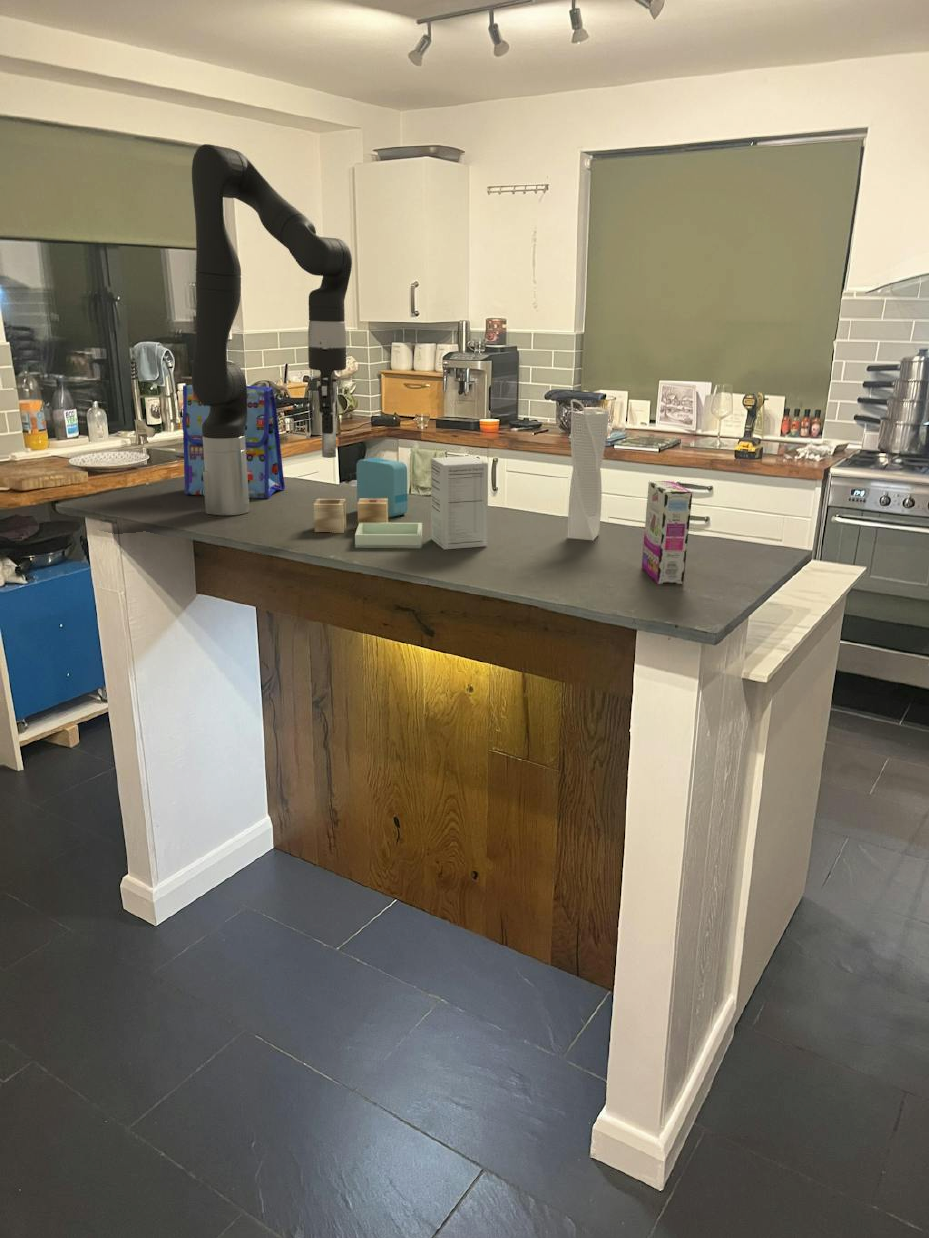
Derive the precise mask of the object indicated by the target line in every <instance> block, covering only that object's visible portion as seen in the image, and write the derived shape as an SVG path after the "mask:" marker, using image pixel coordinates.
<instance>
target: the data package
mask: <svg viewBox="0 0 929 1238" xmlns="http://www.w3.org/2000/svg"><path fill="white" fill-rule="evenodd" d="M355 467H356V499H357V501H356V502H357V503H356V504H357V506H358V501H359V499H360V498H388V518H393V517H394V518H395V517H398V516H402V515H405V514H406V513H407V511H408V467H407V465H406V464H405V463H404V462H403V461H398V460H390V459H386V458H385V459H384V458H377V457H368V458H364V459H359V460H358V461H357V462H356V466H355Z"/></svg>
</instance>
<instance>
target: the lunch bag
mask: <svg viewBox="0 0 929 1238" xmlns="http://www.w3.org/2000/svg"><path fill="white" fill-rule="evenodd" d="M182 401H183V402H182V418H181V419H182V420H181V427H182V434H183V435H182V439H183V440H182V441H183V443H182V444H183V471H184V472H183V473H184V476H183V477H184V494H185V495H187V496H188V495H192V496H204V497H205V494H204V481H203V472H204V471H205V461H204V448H203V436H202V424H203V423H204V421H205V420H206V419H207V417H208V415H209V413H210V406H206V405H204V404H202V403H201V402H200V401H199V400H198V399H197V398H196V396H195V394H194V392H193V388H192V384H189V385H185V384H184V385H182ZM277 409H278V408H277V401H276V397H275V393H274V388H273V387H269V386H263V385H262V386H259V385H247V423H246V426H245V445H246V460H247V475H248V491H249V499H270V498H271V496H272V494H274V493H275V492H276V491H277V490H279V491H285V490H286V486H285V479H284V469H283V467H284V466H283V458H282V450H281V447H282V446H281V439H280V438H281V437H280V430H279V429H280V428H279V419H278V411H277Z"/></svg>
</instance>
